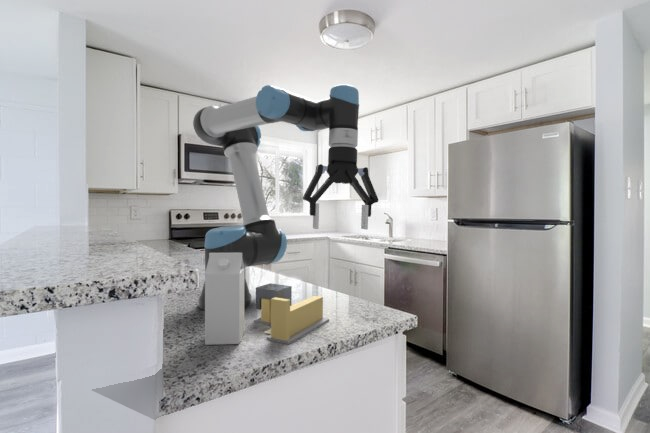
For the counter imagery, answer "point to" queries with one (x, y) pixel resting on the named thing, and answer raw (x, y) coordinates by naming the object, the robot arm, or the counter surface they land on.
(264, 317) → the stub
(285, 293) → the grey block
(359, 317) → the counter surface
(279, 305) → the rail
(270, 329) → the label
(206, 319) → the milk carton
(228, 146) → the robot arm
